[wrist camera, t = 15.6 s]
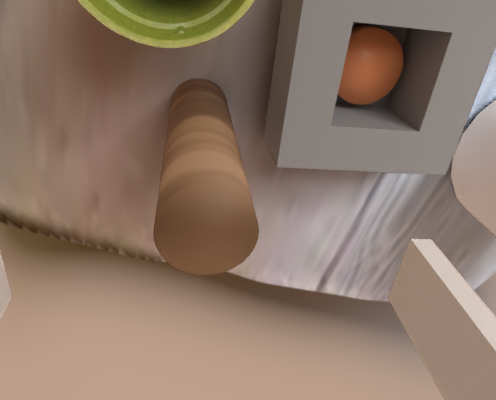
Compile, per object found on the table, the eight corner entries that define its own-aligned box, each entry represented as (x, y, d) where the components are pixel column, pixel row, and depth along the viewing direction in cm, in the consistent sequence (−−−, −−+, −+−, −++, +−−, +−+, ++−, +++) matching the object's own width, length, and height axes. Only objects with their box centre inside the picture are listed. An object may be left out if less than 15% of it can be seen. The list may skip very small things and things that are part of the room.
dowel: (171, 75, 28) (153, 186, 14) (229, 81, 29) (265, 191, 15) (170, 131, 30) (153, 274, 16) (224, 134, 31) (252, 275, 17)
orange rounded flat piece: (331, 20, 27) (340, 24, 26) (400, 28, 28) (413, 31, 26) (317, 94, 30) (324, 102, 28) (381, 99, 30) (391, 106, 29)
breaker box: (288, -47, 25) (311, -49, 20) (463, -24, 27) (521, -21, 22) (263, 135, 31) (276, 167, 26) (408, 144, 33) (445, 175, 28)
